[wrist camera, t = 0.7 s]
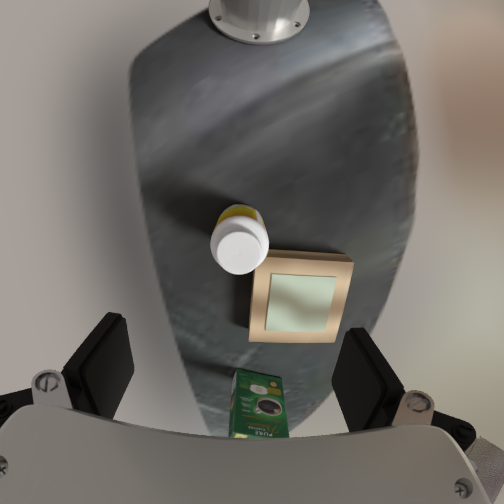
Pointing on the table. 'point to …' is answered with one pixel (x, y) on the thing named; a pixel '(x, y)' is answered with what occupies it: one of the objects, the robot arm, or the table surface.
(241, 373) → the coffee box
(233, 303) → the table surface
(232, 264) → the supplement bottle
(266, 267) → the base
